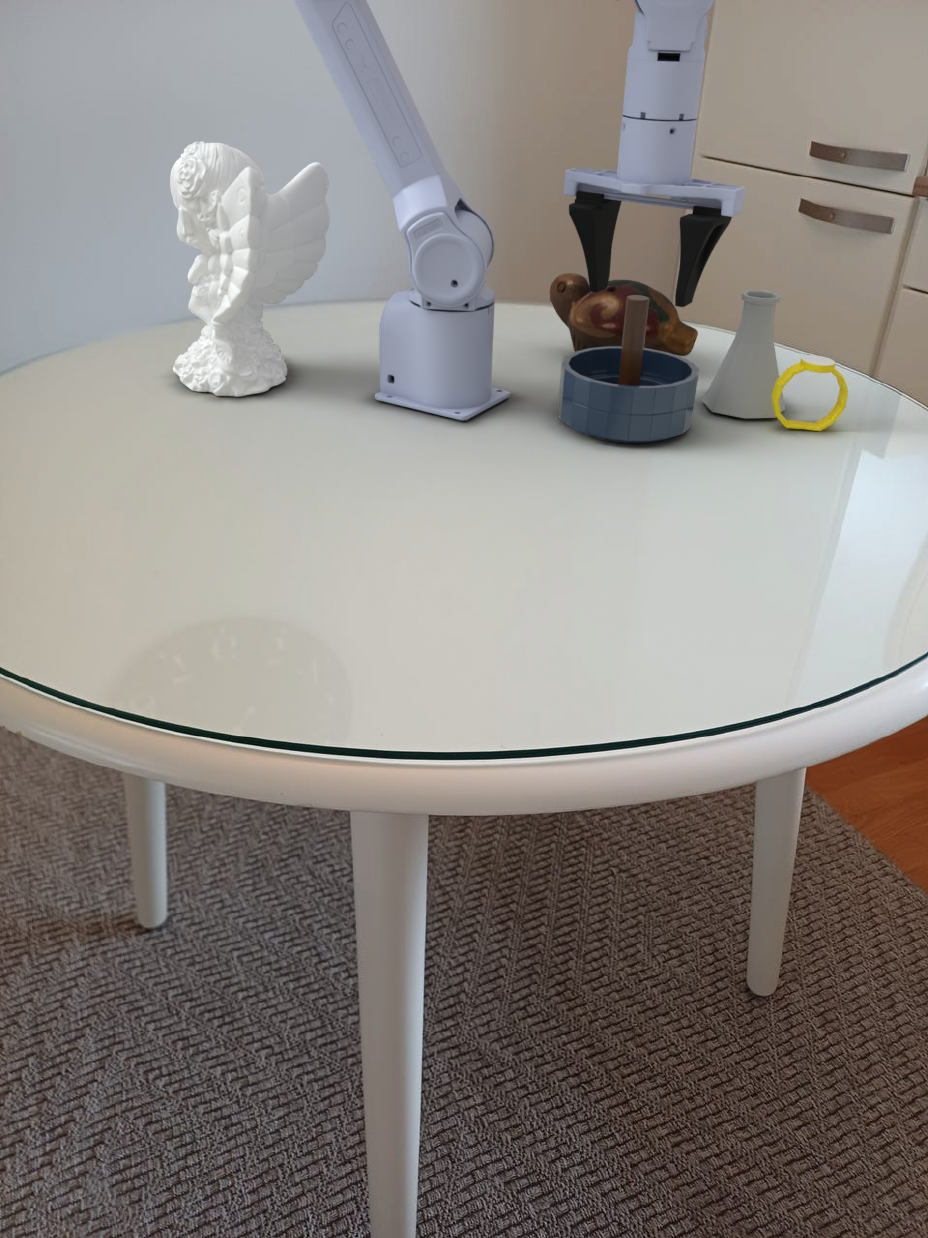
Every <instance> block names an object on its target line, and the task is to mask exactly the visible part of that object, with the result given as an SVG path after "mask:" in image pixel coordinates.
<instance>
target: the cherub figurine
mask: <svg viewBox="0 0 928 1238" xmlns="http://www.w3.org/2000/svg"><path fill="white" fill-rule="evenodd" d="M169 187H170V188H169V189H170V193H171V197H172V201H173V205H174V207H175V208H176V209H177V212H178V213H177V214H178V217H177V222H176V236H177V238H178V240H179V242H181V243H182V244H183V245H185V246H187V247H191V248H194V249H198V250H199V251H200V252H201V254H198V255H196V257H195V258H194V261H193V264H192V265H191V267H190V268H189V270H188V273H187V281H188V283H189V284H191V285H193V287H192V291H191V293H190V299H189V300H188V306H187V307H188V311H189V312H190V313H192V314H193V315H194V316H196V317H197V318H199V319H201V320H202V321H203V322H204V323H205V324H206V325H204V326H203V328H202V329H201V332H200V333H201V335H199V337H198V338H197V340H196V341H193V342H192V343H191V345H190V346H189V347H188V348H187V351H186V352H184V354H183V353H180V355H178V356H177V357H176V359H175V360H174V364H173V366H172V372H173V373H174V374H176V375H177V376H178V377H179V380H180V382H181V384H183V385H184V386H185V387H187V388H189V390H190V391H194V392H198V393H203V392H204V393H207V392H208V393H212V394H213V395H215V396H217V397H236V398H239V397H244V396H249V395H254V394H261V393H265V392H267V391H269V390H270V389H271V388H273V387H275V386H278V385H281V384H283V383H284V382H285V381H286V379H287V377H286V376H287V375H288V367H287V364H286V361H285V354H284V353H283V352H282V349H281V346H280V345H279V344H275V343H274V339H273V338H272V337H271V336H272V335H271V333H270V332H268V331H266V329H264V326H263V325H264V323H263V321H262V317H263V313H264V312H263V311H264V305H267V304H268V305H277V304H281V303H283V302H284V300H285V299H286V298H287V297H288V296H291V295H293V294H295V293H296V292H298V291H299V290H300V289H301V288H302V287H303V286H304V283H305V282H306V281H308V280H309V279H311V278H312V277H313V276H314V275H315V273H316V272H317V270H318V266H319V263H320V262H321V260H322V258H323V257H324V256H325V253H326V248H327V241H326V235H327V232H328V230H329V226H330V216H331V215H330V209H329V206H328V203H327V202H326V196H327V192H328V189H329V175H328V172H327V169H325V167H324V166H323V164H322V163H321V162H319V161H314V162H312V163H309V164H308V165H306V166H305V167H304V168H303V169H302V170H300V171H299V172H297V174H296V175H295V176H294V177H293V178H292V179H291V180H290V181H289V182H288V183H287V184H285V185H284V187H282V188H281V189H279V190H278V191H277V192H275V193H273V194H269V193H268V192H267V184H266V179H265V176H264V174H263V171H262V170H261V168H260V166H259V165H258V164H257V163H256V162H255V161H254V160H253V159H252V158H251V157H250V156H249V155H248V154H246V153H244V152H243V151H241V150H240V149H238V148H235V147H233V146H230V145H228V144H226V143H222V142H205V140H200V141H198V140H197V141H194V142H192V143H190V144H188V145H187V146H186V147H185V148H184V149H183V153H181V154H180V157H179V158H178V159H177V160H176V161H175V162H174V164H173V165H172V167H171V171H170V175H169Z"/></svg>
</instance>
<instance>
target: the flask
mask: <svg viewBox="0 0 928 1238" xmlns="http://www.w3.org/2000/svg"><path fill="white" fill-rule="evenodd" d="M781 298H782V295H781V294H779V293H778V292H777V291H772V290H766V289H745V290H744V291H743V292H742V293H741V300H742V301H743V307H742V313H741V318H740V321H739V323H738V327H737V330H736V333H735V336H734V338H733V340H732V342H731V344H730V346H729V348H728V350H727V352H726V355H725V356H724V358H723V360H722V362H721V365H720V366H719V368H718V370H717V372H716V374H715V375H714V378H713V379H712V381H711V383H710V385H709V387H708V388H707V390H706V392H705V394H704V396H703V398H702V400H701V401H702V402H703V404H704V405H705V406H706V407H707V408H708V409H709V411H711V413H714V414H715V413H716V414H721V415H726V416H731V417H735V418H740V419H777V416H776V415H775V413H774V411H773V406H772V400H771V397H772V395H771V394H772V392H773V389H774V386H775V383H776V381H777V379H778V378H779V377H780V373H779V372H780V371H779V367H778V366H779V365H778V359H777V353H776V347H775V341H774V339H775V338H774V337H775V336H774V333H775V332H774V318H775V312H776V306H777V304H778V303H779V302H780V300H781ZM779 406H780V412H781V413H783V411H785V409H786V404H785V398H784V393H783V391H782V393H781V396H780V399H779Z"/></svg>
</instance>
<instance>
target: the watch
mask: <svg viewBox="0 0 928 1238" xmlns="http://www.w3.org/2000/svg"><path fill="white" fill-rule="evenodd" d="M835 367H836V361H835V360H833V359H832V358H830V357H826V356H822V355H814V354H808V355H807V354H806V355H803V356H801V358H800V361H799V362H797V363H795V364H792V365H790V366H789V367H787V368H786V369H785V370H784V371H783V372H782V374H781V375H779V378H778V379H777V381H776V383H775V386H774V389H773V392H772V394H771V395H772V397H771V400H772V406H773V411H774V413H775V415H776V416H777V417H776V419H778V421H779V422H781V425H783V427H784V428H787V429H794V430H795V429H796V430H806V431H816V432H821V431H823V430H825V429H827V428H828V427H830V426H832V425H833V424H834V423H836V422H837V421H838V419H839V418H840V416H841V415H842V414H843V412H844V411H845V409H846V406H847V402H848V397H849V389H848V386H847V383H846V380H845V377H844V376H843V374H842V373H841V372H840V371H839V370H837V368H835ZM805 371H808V372H811V373H818V374H830V373H831V374H832V375H833V376H834V377H835V378H836V381H837V385H838V387H839V391H838V396H837V401H836V403H835V404H834V406H833V407H832V408H831V410H830V411H829V413H828V414H827V415H825V416H824V417H822V418H820V419H818V420H817V421H814V422H812V421H811V422H809V421H804V420H803V421H802V420H794V419H786V418H785V417H784V415H783V414H782V412H780V406H779V399H780V396H781V393H782V392H783V389H784V387H785V386H786V385H787V384H788V383H789V382H790V381H791V380H792V378H794V377H795V376H796V375H798V374H800V373H803V372H805Z"/></svg>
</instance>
